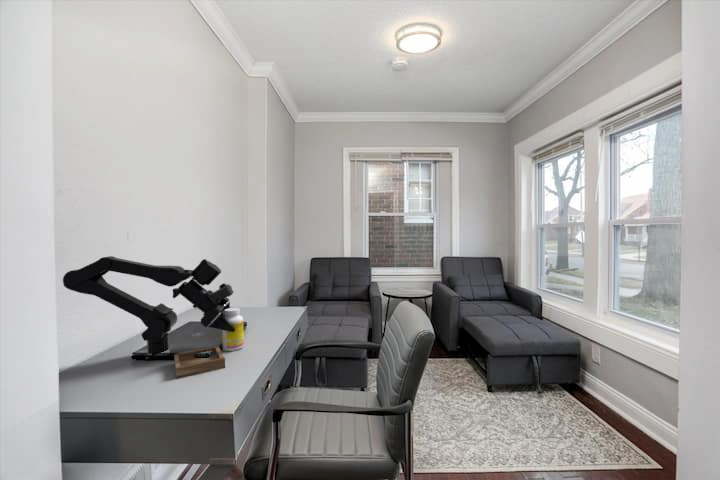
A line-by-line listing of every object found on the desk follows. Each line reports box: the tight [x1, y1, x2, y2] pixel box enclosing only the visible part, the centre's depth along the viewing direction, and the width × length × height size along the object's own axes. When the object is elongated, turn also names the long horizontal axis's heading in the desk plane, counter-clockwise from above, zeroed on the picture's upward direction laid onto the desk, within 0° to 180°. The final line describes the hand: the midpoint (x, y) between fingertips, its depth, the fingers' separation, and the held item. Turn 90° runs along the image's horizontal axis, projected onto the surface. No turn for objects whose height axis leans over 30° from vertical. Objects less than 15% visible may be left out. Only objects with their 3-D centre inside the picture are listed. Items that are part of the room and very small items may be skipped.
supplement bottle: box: [221, 307, 245, 352], centre depth 108 cm, size 7×7×13 cm
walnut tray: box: [173, 345, 226, 379], centre depth 94 cm, size 12×12×3 cm
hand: (236, 326), depth 108 cm, fingers open, 9 cm apart
